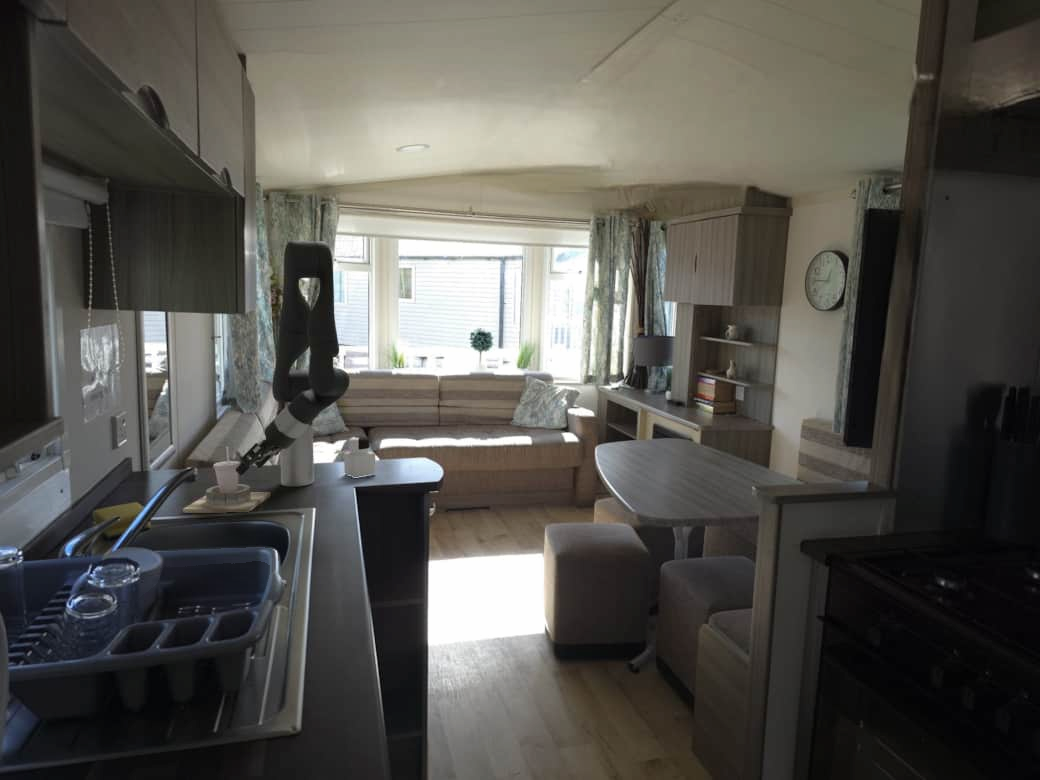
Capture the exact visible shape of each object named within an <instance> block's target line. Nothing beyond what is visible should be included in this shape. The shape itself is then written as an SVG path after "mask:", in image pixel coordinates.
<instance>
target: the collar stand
mask: <svg viewBox="0 0 1040 780" xmlns="http://www.w3.org/2000/svg"><path fill="white" fill-rule="evenodd" d="M271 496H272V495H271V492H270V491H264V492H261V491H258V492H257V491H255V492H254V491H253V492H252V491H251V487H250V485H248V484H243V483H238V491H237V492H230V493H220V490H219V486H218V485H216V486H215V485H214V486H211V487H209V488H207V489H205V495H204V496H202V497H200V498H198V499H197V500H195V501H193V502H192V503H190V504H189V505H187V506H185V507H184V508H182V513H183V514H228V513H227V512H248V513H250V512H251V511H252V510H255V508H257V506H259V505H260V504H262V503H263V502H264V501H266V500H267V499H269V498H270V497H271ZM249 511H250V512H249Z"/></svg>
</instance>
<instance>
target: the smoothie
mask: <svg viewBox="0 0 1040 780" xmlns="http://www.w3.org/2000/svg"><path fill="white" fill-rule="evenodd" d="M225 449H226V461H221V462H216V463H214V464H213V466H212V467H213V470H215V476H216V481H217V484H218V485H217V486H219V490H220V493H230V492H237V491H238V484H239V474H238V473H237V472H236V468H237V467H238V466H239V465H240V464H241V462H240V461H238V460H230V449H229V446H226V447H225Z"/></svg>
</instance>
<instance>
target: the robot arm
mask: <svg viewBox="0 0 1040 780" xmlns="http://www.w3.org/2000/svg"><path fill="white" fill-rule="evenodd" d="M283 254H284V256H283V288H282V289H283V291H282V302H281V310H280V318H279V325H278V326H279V327H278V340H277V341H278V342H277V343H278V344H277V354H276V361H275V365H274V371H273V378H272V385H271V389H272V390H271V391H272V397H273V399H274V400H275V401H276V402H278V403H289V404H288V405H287V406H286V407H285V408H283V409H281V411H280V412H279V413H278V414H277V416H276V417H274V418H273V420H271V422H270V423H269V424H268V425H267V426H266V427H265V428H264V436H265V439H264V438H263V439H262V440H260V442H259V443H258V442H256V443H254V444H253V445H252V446H251V447H250V449H248V451H247V452H246V453H245V454H244V455H242V456H241V458H240V460H241V462H240V465H239V466H238V467H237V468H236V472H237V473H238V476H243V475H244V474H245V473H246V472H247V471H248V470H249V469H250V468H251V467H253V465H255V466H256V467H257V468H259V469H261V468H262V467H264V465H266V463H268V461H269V460H271V459H273V458H274V456H275V457H276V456H278V455H279V454H280V455H279V457H280V483H281V484H280V485H281V486H283V487H305V486H309V485H312V484H314V483H315V462H314V461H315V459H314V431H313V428H314V427H313V425H314V424H313V421H314V420H315V419H316V418H317V417H318V416H319V415H320V413H321V412H323V411H324V410H325V409H327V408H329V407H330V406H331V405H333V404H334V403H335V402H336V401H338V400H339V399H340V398H342V397H343V396H344V395H345V393H347V391H348V389H349V386H350V383H351V382H350V376H349V374H348V373H347V372H346V371H345V370H343V369H341V368H339V367H334V358H336V357H337V356H338V355H339V354H340V345H339V338H338V332H337V327H336V319H335V318H336V317H335V316H336V315H335V285H334V284H335V283H334V262H333V255H332V250H331V247H330V246H329V245H328V243H327V242H326V241H324V240H323V241H321V240H291V241H288V242H287V244H286V245H285V248H284V253H283ZM301 279H318V280H319V281H318V282H319V291H318V295H317V297H316V300H315V303H314V305H313V307H311V305H310V304H309V302H308V300H307V299H306V298H305V296H304V295H303V293H302V291H301V289H300V280H301ZM308 349H309V351H310V356H309V362H308V363H309V365H308V370H307V369H296V370H292V367H293V365H294V364H295V362H297V360H298V359H300V357H301V356H302V355H304V353H305V352H306V351H307V350H308Z"/></svg>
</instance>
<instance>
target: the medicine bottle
mask: <svg viewBox="0 0 1040 780" xmlns="http://www.w3.org/2000/svg"><path fill="white" fill-rule="evenodd" d="M348 440H349V441H348V444H349V451H345V452H344V453H343V462H344V463H343V469H344V472H343V473H346V474H348V475H351V476H353V477H359V476H364V475H369V474H374V473H376V453H374V452H372V451H370V449H371V448H370V438H369V437H367V436H365V435H364V436H363V435H361V436H353V437H350V438H349V439H348Z"/></svg>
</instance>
